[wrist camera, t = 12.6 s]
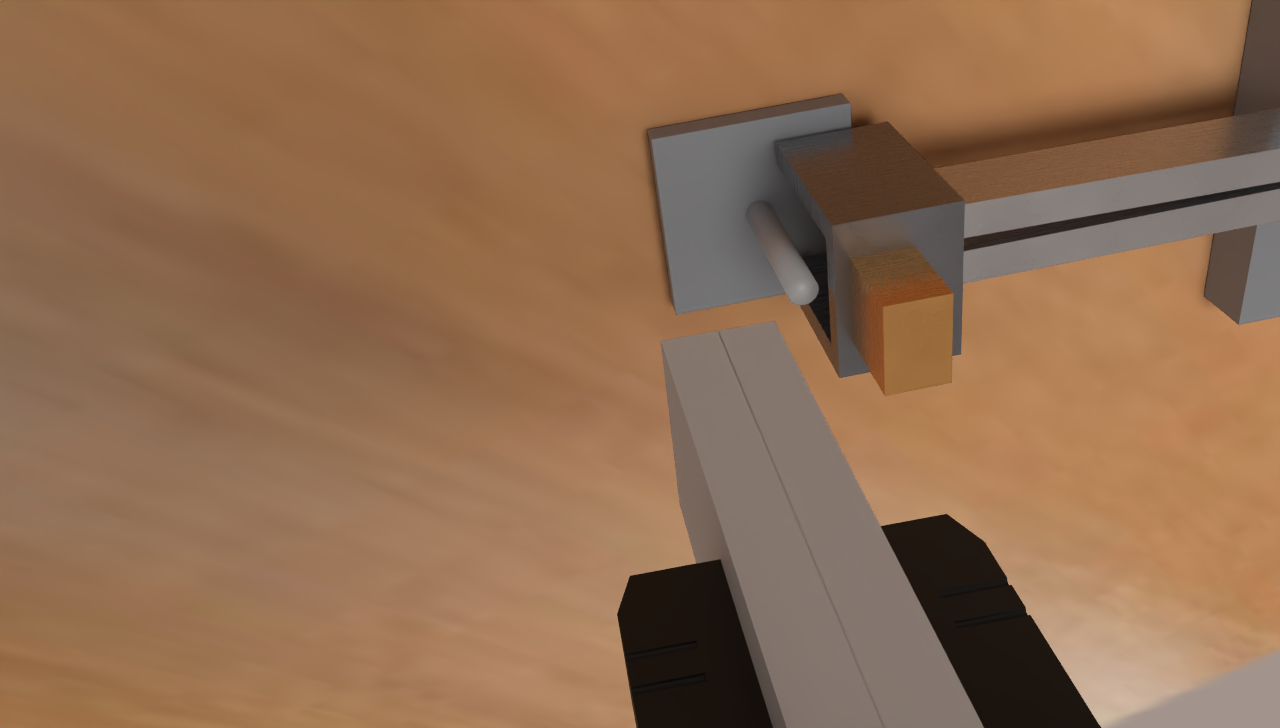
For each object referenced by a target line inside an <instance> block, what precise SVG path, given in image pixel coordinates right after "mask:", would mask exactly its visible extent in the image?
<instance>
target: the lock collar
mask: <svg viewBox="0 0 1280 728" xmlns="http://www.w3.org/2000/svg"><path fill="white" fill-rule="evenodd" d="M775 146H776V159H777V165H778V167H779V168H780V170H781V171H782V173H783V174H784V176H785V177H786V179H787V180H788V182H789V183H790V185H791V186H792V188H793V189H794V191H795V192H796V194H797V195H798V197H799V198H800V200H801V201H802V203H803V204H804V206H805V208H806V209H807V211H808V212H809V214H810V215H811V217H812V218H813V220H814V221H815V223H816V224H817V226H818V227H819V229H820V230H821V232H822V233H823V235H824V236H825V238H826V251H827V252H824V253H818V254H813V255H808V256H802V258H803V260H804V262H805V263H806V265H807V267H808V269H809V270H810V272H811V274H812V275H813V277H814V279H815V280H816V282H817V284H818V287H819V291H818V294H817V296H816V298H815V299H814V300H813V301H812V302H810V303H808V304H805V305H800V307H801V308H802V310H803V312H804V314H805V316H806V318H807V319H808V321H809V323H810V325H811V327H812V329H813V330H814V332H815V334H816V336H817V338H818V340H819V341H820V343H821V345H822V347H823V349H824V351H825V352H826V354H827V356H828V358H829V360H830V362H831V363H832V365H833V367H834V369H835V371H836V373H837V374H838V376H839V378H842V377H847V376H852V375H857V374H863V373H868V372H871V374H872V375H873V377H874V379H875V380H876V382H877V384H878V385H879V387H880V389H881V390H882V392H883V394H884V395H885V396H887V395H892V394H897V393H902V392H907V391H912V390H917V389H922V388H927V387H932V386H938V385H943V384H948V383H952V356H955V355H960V354H961V335H962V296H963V257H964V217H965V200H964V199H963V198H962V197H961V196H960V195H959V194H958V193H957V192H956V191H955V190H954V189H953V188H952V187H951V186H950V185H949V184H948V183H947V182H946V181H945V180H944V179H943V178H942V177H941V176H940V175H939V174H938V172H937V171H936V170H935V169H934V168H933V167H932V166H931V165H930V164H929V163H928V162H927V161H926V160H925V159H924V158H923V157H922V156H921V155H920V154H919V153H918V152H917V151H916V150H915V149H914V148H913V147H912V146H911V145H910V144H909V143H908V142H907V141H906V140H905V139H904V138H903V137H902V136H901V135H900V134H899V133H898V132H897V131H896V130H895V129H894V127H893V126H892V125H891V124H890V123H889V122H883V123H877V124H872V125H867V126H861V127H856V128H851V129H845V130H840V131H834V132H829V133H824V134H818V135H813V136H807V137H802V138H797V139H791V140H786V141H780V142H775Z"/></svg>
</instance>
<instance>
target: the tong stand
mask: <svg viewBox="0 0 1280 728" xmlns="http://www.w3.org/2000/svg"><path fill="white" fill-rule="evenodd" d="M1277 108H1280V0H1252V6H1251V12H1250V19H1249V25H1248V31H1247V37H1246V43H1245V49H1244V55H1243V61H1242V67H1241V74H1240V80H1239V86H1238V92H1237V98H1236V104H1235V110H1234V116H1237V115H1243V114H1248V113H1254V112H1260V111H1265V110H1271V109H1277ZM845 129H851V103H850V102H849V101H848V100H847V99H846V97H845V96H844V95H843V94H838V95H833V96H827V97H822V98H816V99H811V100H806V101H800V102H795V103H789V104H784V105H778V106H773V107H768V108H762V109H757V110H751V111H746V112H740V113H735V114H729V115H724V116H719V117H713V118H708V119H702V120H697V121H691V122H686V123H681V124H675V125H670V126H664V127H659V128H653V129H648V130H647V131H648V138H649V145H650V152H651V160H652V167H653V174H654V181H655V188H656V195H657V202H658V209H659V216H660V223H661V230H662V237H663V244H664V252H665V259H666V266H667V273H668V280H669V287H670V294H671V301H672V305H673V308H674V310H675V313H676V315H677V314H682V313H687V312H693V311H698V310H703V309H708V308H713V307H719V306H724V305H729V304H734V303H740V302H745V301H750V300H755V299H760V298H766V297H771V296H776V295H781V294H787V296H788V298H789V300H790V301H791V302H792V303H794V304H796V305H805V304H808V303H810V302H812V301H813V300H814V299H815V298H816V296H817V294H818V291H819V287H818V284H817V282H816V280H815V279H814V277H813V275H812V274H811V272H810V270H809V269H808V267H807V265H806V263H805V262H804V260H803V258H802V256H808V255H813V254H818V253H824V252H827V251H826V238H825V236H824V235H823V233H822V232H821V230H820V229H819V227H818V226H817V224H816V223H815V221H814V220H813V218H812V217H811V215H810V214H809V212H808V211H807V209H806V208H805V206H804V204H803V203H802V201H801V200H800V198H799V197H798V195H797V194H796V192H795V191H794V189H793V188H792V186H791V185H790V183H789V182H788V180H787V179H786V177H785V176H784V174H783V173H782V171H781V170H780V168H779V167H778V165H777V159H776V146H775V142H780V141H786V140H791V139H797V138H802V137H807V136H813V135H818V134H824V133H829V132H834V131H840V130H845ZM1204 297H1206V298H1207V299H1208V300H1209V301H1210V302H1212V303H1213V304H1214V305H1215V306H1216V307H1218V308H1219V309H1220V310H1221V311H1223V312H1224V313H1225V314H1226V315H1227V316H1229V317H1230V318H1231V319H1232V320H1233V321H1235V322H1236V323H1237V324H1238V325H1240V324H1245V323H1250V322H1255V321H1260V320H1265V319H1271V318H1276V317H1280V220H1279V221H1274V222H1269V223H1264V224H1259V225H1254V226H1249V227H1244V228H1239V229H1234V230H1229V231H1224V232H1219V233H1214V238H1213V245H1212V251H1211V257H1210V263H1209V269H1208V275H1207V281H1206V287H1205V293H1204Z"/></svg>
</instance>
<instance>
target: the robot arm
mask: <svg viewBox="0 0 1280 728" xmlns="http://www.w3.org/2000/svg"><path fill="white" fill-rule="evenodd" d="M661 347H662V355H663V364H664V373H665V381H666V390H667V399H668V407H669V416H670V424H671V433H672V442H673V450H674V459H675V468H676V476H677V485H678V494H679V502H680V507H681V510H682V514H683V517H684V521H685V524H686V528H687V531H688V535H689V538H690V542H691V546H692V549H693V553H694V556H695V560H696V563H697V564H691V565H686V566H681V567H675V568H670V569H665V570H659V571H654V572H649V573H643V574H638V575H633V576H630V577H629V580H628V583H627V586H626V589H625V592H624V595H623V598H622V601H621V604H620V607H619V610H618V613H617V616H618V622H619V628H620V634H621V639H622V645H623V651H624V657H625V663H626V669H627V675H628V681H629V687H630V693H631V699H632V705H633V711H634V716H635V722H636V727H637V728H1101V727H1100V725H1099V724H1098V722H1097V721H1096V719H1095V718H1094V716H1093V714H1092V713H1091V711H1090V710H1089V708H1088V706H1087V705H1086V703H1085V702H1084V700H1083V698H1082V697H1081V695H1080V694H1079V692H1078V690H1077V689H1076V687H1075V686H1074V684H1073V682H1072V681H1071V679H1070V678H1069V676H1068V674H1067V673H1066V671H1065V670H1064V668H1063V666H1062V665H1061V663H1060V662H1059V660H1058V658H1057V657H1056V655H1055V654H1054V652H1053V650H1052V649H1051V647H1050V646H1049V644H1048V643H1047V641H1046V639H1045V638H1044V636H1043V635H1042V633H1041V631H1040V630H1039V628H1038V627H1037V625H1036V623H1035V622H1034V620H1033V619H1032V617H1031V615H1027V613H1026V607H1025V606H1024V604H1023V603H1022V601H1021V599H1020V598H1019V596H1018V595H1017V593H1016V591H1015V590H1014V588H1013V587H1012V585H1009V584H1008V582H1007V577H1006V575H1005V574H1004V572H1003V571H1002V569H1001V567H1000V566H999V564H998V563H997V561H996V559H995V558H994V556H993V555H992V553H991V551H990V550H989V548H988V547H987V545H986V543H985V542H984V541H983V540H981V539H980V538H979V537H977V536H976V535H974V534H973V533H972V532H970V531H969V530H968V529H966V528H965V527H964V526H962V525H961V524H960V523H958V522H957V521H955V520H954V519H953V518H951V517H950V516H949V515H947V514H944V515H938V516H933V517H928V518H922V519H917V520H912V521H906V522H901V523H895V524H890V525H885V526H880V525H879V523H878V521H877V519H876V517H875V515H874V513H873V511H872V509H871V507H870V505H869V503H868V501H867V499H866V497H865V495H864V493H863V491H862V490H861V488H860V486H859V484H858V482H857V480H856V478H855V476H854V474H853V472H852V470H851V468H850V466H849V464H848V462H847V460H846V458H845V456H844V455H843V453H842V451H841V449H840V447H839V445H838V443H837V441H836V439H835V437H834V435H833V433H832V431H831V429H830V427H829V425H828V423H827V421H826V420H825V418H824V416H823V414H822V412H821V410H820V408H819V406H818V404H817V402H816V400H815V398H814V396H813V394H812V392H811V390H810V388H809V386H808V385H807V383H806V381H805V379H804V377H803V375H802V373H801V371H800V369H799V367H798V365H797V363H796V361H795V359H794V357H793V355H792V353H791V351H790V350H789V348H788V346H787V344H786V342H785V340H784V338H783V336H782V334H781V332H780V330H779V328H778V326H777V324H776V322H775V321H772V322H766V323H761V324H755V325H749V326H743V327H737V328H732V329H726V330H720V331H714V332H708V333H703V334H697V335H691V336H685V337H679V338H674V339H668V340H662V341H661Z"/></svg>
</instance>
